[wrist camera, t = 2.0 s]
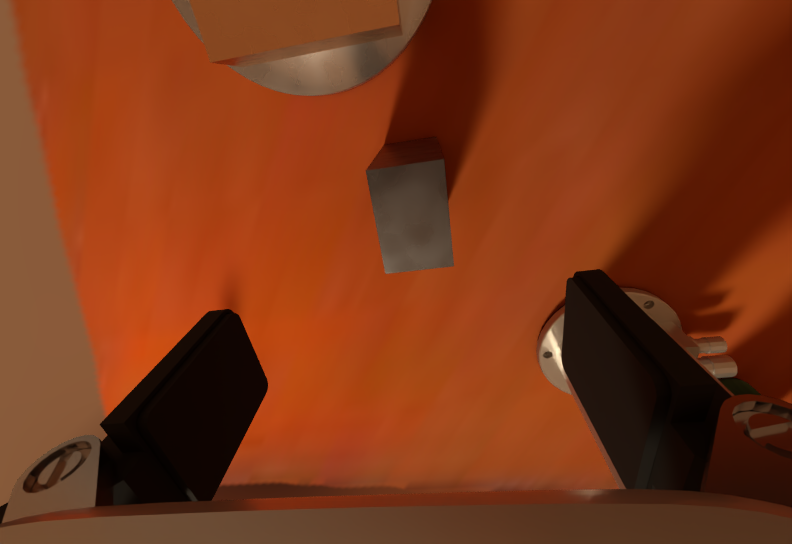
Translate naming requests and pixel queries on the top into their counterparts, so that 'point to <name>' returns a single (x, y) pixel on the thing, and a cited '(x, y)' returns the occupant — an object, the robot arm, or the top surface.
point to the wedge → (411, 206)
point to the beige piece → (305, 39)
